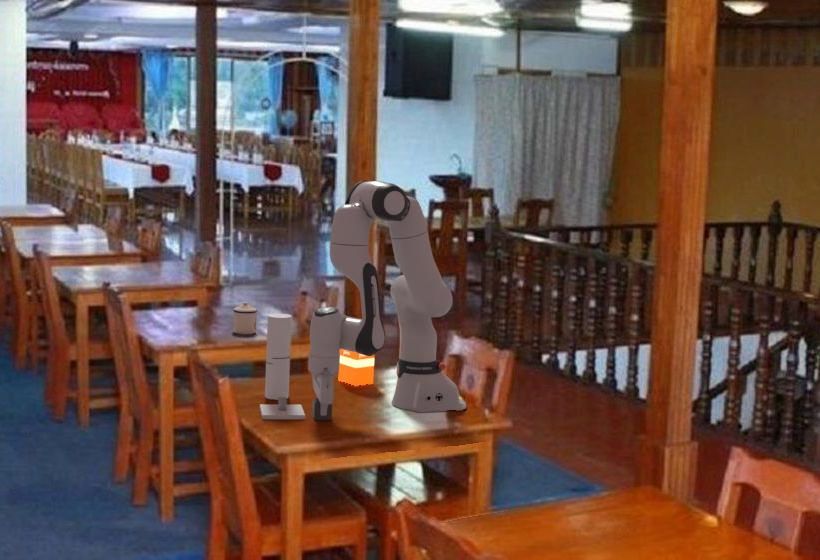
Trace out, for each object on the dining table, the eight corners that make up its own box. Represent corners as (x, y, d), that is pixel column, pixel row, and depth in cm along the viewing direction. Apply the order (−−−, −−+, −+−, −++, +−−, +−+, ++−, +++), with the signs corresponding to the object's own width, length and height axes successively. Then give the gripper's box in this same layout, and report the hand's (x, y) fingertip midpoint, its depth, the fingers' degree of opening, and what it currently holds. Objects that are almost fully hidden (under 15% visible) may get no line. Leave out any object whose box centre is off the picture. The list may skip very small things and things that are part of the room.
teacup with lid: (259, 334, 461) (260, 304, 459) (237, 335, 457) (238, 304, 455) (249, 328, 471) (250, 298, 470) (227, 329, 467) (228, 299, 466)
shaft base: (300, 408, 353) (301, 392, 352) (305, 419, 341) (305, 403, 340) (259, 408, 350) (260, 392, 350) (262, 419, 339) (262, 403, 338)
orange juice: (354, 386, 384) (357, 324, 381) (337, 380, 390) (340, 320, 387) (373, 383, 389) (376, 322, 386) (356, 378, 395) (359, 318, 393)
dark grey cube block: (329, 415, 347) (330, 397, 346) (331, 419, 342) (332, 401, 341) (312, 415, 346) (312, 397, 345) (313, 419, 341) (314, 401, 340)
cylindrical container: (284, 400, 361) (287, 318, 357) (261, 398, 362) (264, 316, 359) (291, 395, 368) (294, 314, 364) (269, 393, 369) (272, 312, 366)
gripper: (339, 373, 332) (337, 421, 334) (330, 357, 352) (328, 403, 354) (316, 372, 331) (314, 421, 333) (309, 357, 351) (307, 403, 353)
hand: (322, 412), depth 344 cm, fingers closed on dark grey cube block, 5 cm apart
